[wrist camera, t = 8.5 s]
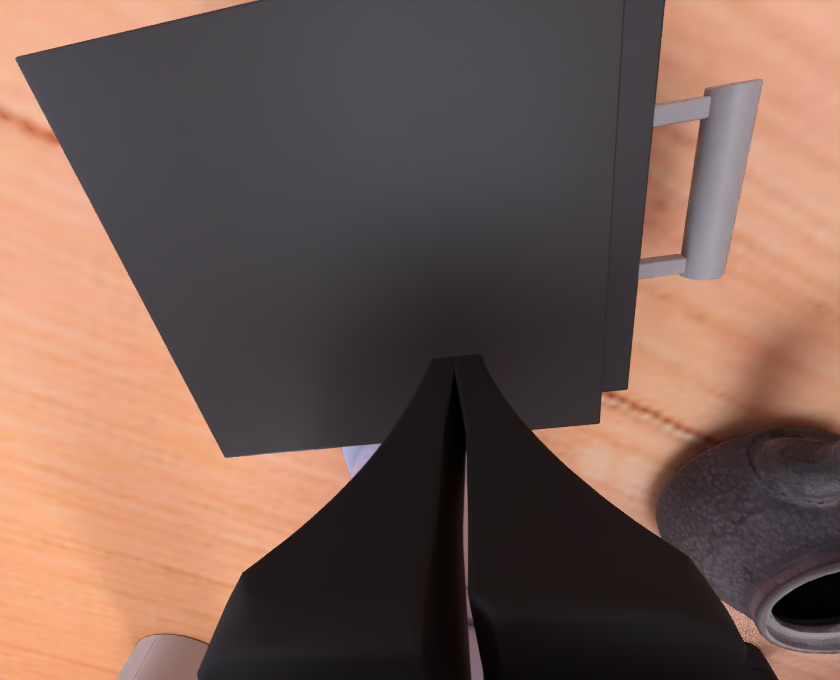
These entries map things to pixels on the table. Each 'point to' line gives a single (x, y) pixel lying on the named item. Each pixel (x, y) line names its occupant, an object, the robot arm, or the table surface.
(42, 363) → the table surface
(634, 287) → the drawer
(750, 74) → the table surface
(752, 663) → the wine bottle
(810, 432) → the teapot
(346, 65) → the cabinet
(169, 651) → the cup
